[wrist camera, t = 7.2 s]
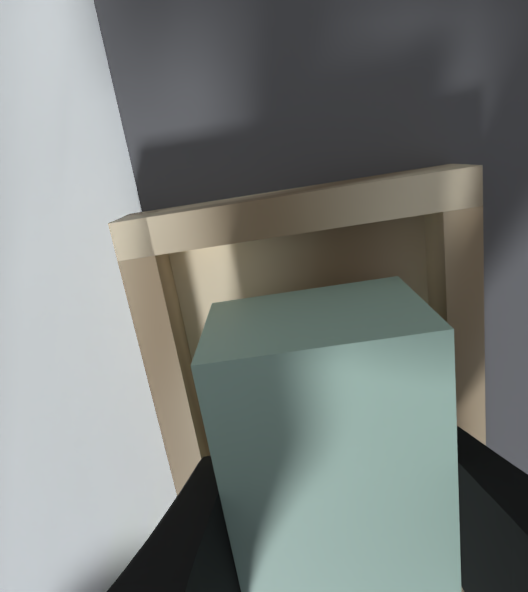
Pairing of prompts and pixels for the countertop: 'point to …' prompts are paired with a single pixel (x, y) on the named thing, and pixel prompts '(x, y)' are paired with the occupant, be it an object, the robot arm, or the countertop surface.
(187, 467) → the tray
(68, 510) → the countertop surface
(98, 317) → the countertop surface
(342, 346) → the block
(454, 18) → the mat
